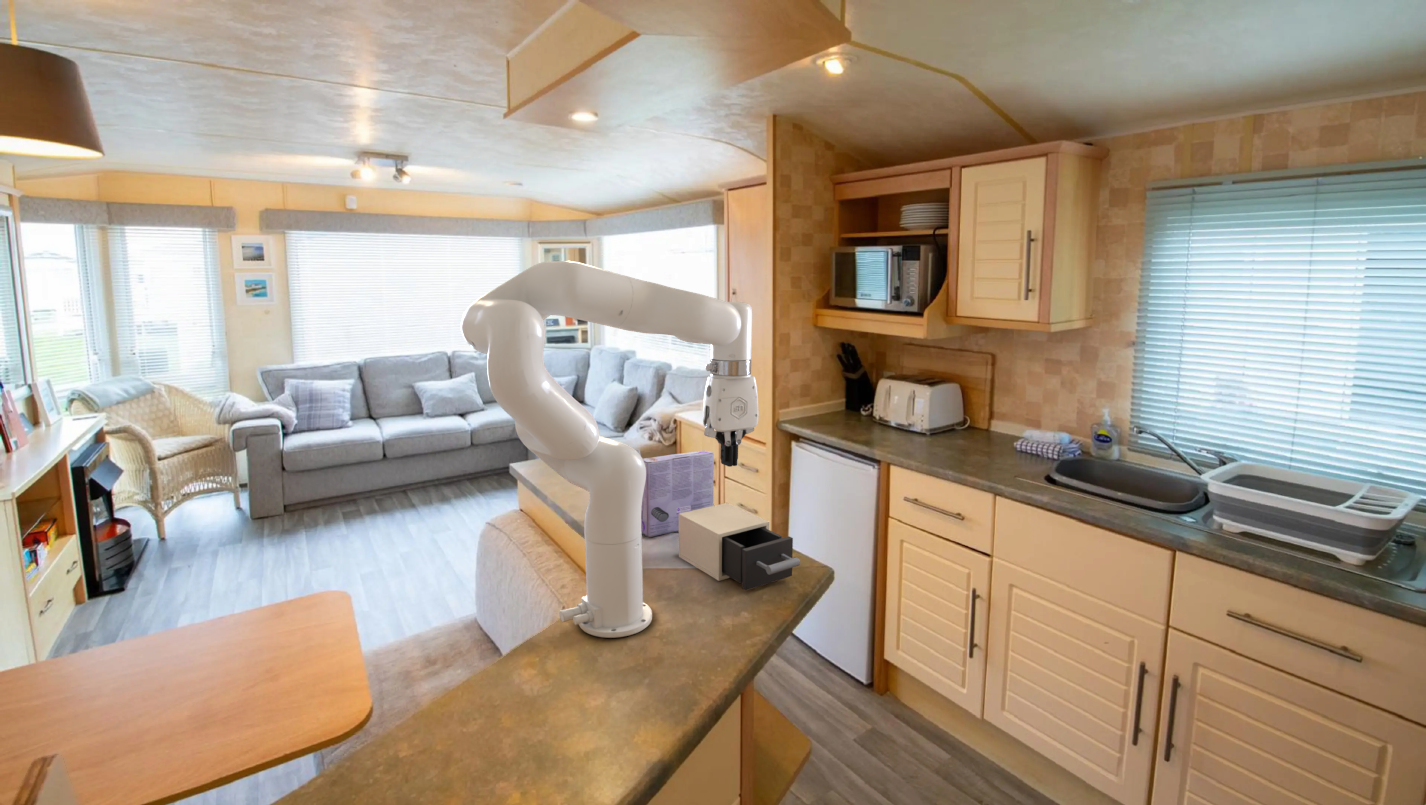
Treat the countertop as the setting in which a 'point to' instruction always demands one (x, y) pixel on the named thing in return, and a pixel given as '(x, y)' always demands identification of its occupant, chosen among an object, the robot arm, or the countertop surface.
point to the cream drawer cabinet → (712, 534)
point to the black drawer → (757, 557)
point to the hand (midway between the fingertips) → (729, 464)
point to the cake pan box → (675, 489)
